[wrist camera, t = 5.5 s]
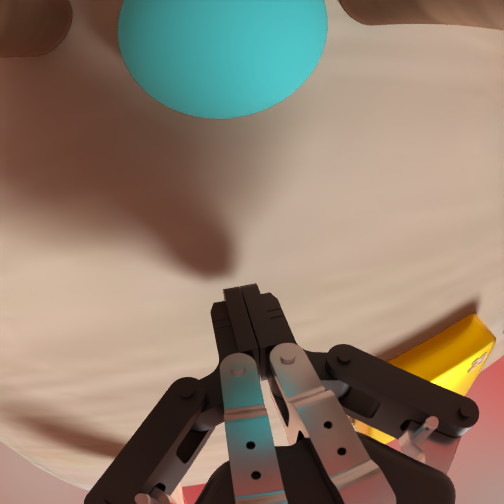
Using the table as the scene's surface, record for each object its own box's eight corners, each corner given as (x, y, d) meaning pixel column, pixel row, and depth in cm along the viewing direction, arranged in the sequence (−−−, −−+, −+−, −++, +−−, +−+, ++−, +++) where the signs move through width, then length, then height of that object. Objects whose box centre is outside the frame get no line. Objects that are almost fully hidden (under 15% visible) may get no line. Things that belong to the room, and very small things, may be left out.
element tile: (352, 426, 34) (366, 456, 30) (350, 374, 25) (372, 419, 21) (449, 374, 34) (466, 399, 30) (477, 303, 25) (505, 335, 21)
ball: (293, -35, 8) (270, 92, 11) (135, -47, 6) (126, 93, 10) (390, -45, 4) (339, 156, 8) (116, -92, 2) (107, 161, 6)
